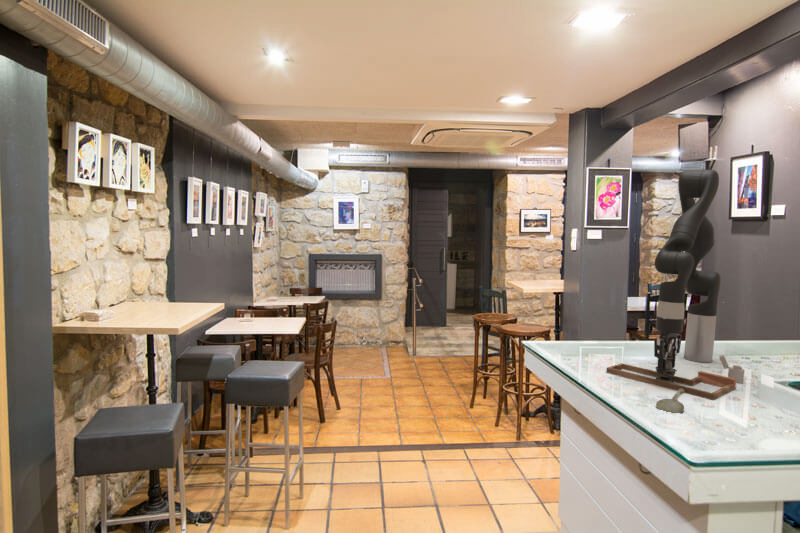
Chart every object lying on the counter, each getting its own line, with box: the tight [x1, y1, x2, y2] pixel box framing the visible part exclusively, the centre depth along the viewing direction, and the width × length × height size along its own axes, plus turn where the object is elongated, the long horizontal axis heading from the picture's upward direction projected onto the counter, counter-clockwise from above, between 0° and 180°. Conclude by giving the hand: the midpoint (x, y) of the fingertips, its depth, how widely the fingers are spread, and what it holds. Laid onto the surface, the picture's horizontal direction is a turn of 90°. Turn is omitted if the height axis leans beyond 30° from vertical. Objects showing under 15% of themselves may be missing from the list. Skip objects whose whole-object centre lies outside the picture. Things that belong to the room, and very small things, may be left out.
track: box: [605, 362, 737, 401], centre depth 162 cm, size 18×32×3 cm, turn 40°
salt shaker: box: [654, 347, 677, 383], centre depth 158 cm, size 6×6×12 cm
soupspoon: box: [655, 389, 685, 414], centre depth 141 cm, size 22×3×7 cm
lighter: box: [718, 354, 745, 385], centre depth 163 cm, size 7×2×8 cm, turn 56°
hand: (665, 368), depth 159 cm, fingers closed on salt shaker, 6 cm apart
